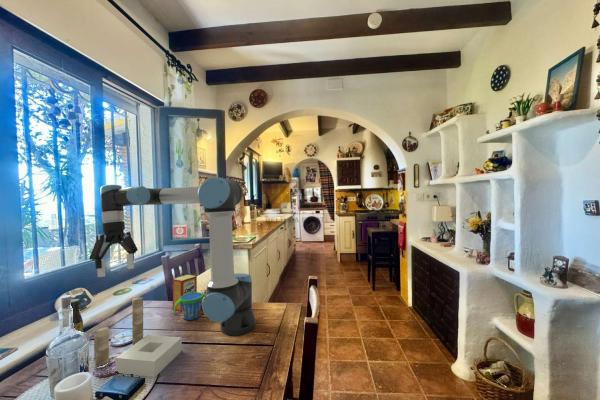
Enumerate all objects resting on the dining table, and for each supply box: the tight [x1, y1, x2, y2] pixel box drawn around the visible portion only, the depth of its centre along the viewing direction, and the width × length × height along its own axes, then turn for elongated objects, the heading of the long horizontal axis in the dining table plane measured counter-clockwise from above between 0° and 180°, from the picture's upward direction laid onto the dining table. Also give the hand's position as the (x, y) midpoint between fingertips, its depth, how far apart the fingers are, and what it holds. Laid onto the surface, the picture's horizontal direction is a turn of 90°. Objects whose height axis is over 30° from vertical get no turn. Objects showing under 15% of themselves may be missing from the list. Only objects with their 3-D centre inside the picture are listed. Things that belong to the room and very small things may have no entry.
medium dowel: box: [95, 326, 110, 368], centre depth 85 cm, size 4×4×12 cm
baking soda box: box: [172, 274, 198, 313], centre depth 132 cm, size 10×6×16 cm
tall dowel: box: [131, 297, 144, 346], centre depth 97 cm, size 4×4×18 cm
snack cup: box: [173, 291, 207, 321], centre depth 120 cm, size 16×10×10 cm
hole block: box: [114, 334, 183, 378], centre depth 87 cm, size 14×14×5 cm
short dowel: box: [93, 334, 96, 360], centre depth 90 cm, size 4×4×8 cm
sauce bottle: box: [70, 298, 84, 333], centre depth 90 cm, size 6×6×20 cm
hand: (117, 272), depth 104 cm, fingers open, 13 cm apart
